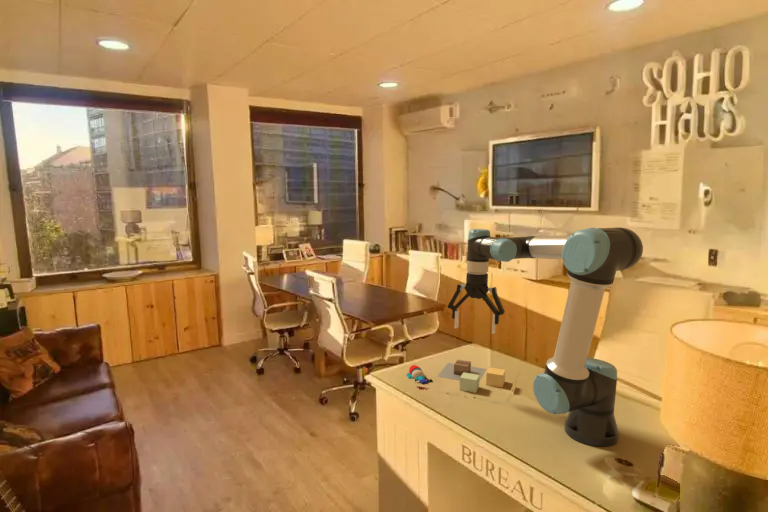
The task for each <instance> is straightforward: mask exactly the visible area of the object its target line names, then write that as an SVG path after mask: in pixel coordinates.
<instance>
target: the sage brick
mask: <svg viewBox="0 0 768 512" xmlns="http://www.w3.org/2000/svg"><path fill="white" fill-rule="evenodd" d="M479 388H480V381H479V375H476V374H470V373H464V372H463V374H462V375H461V377H460V380H459V391H464V392H468V393H474V394H476V393H477V392H478V389H479Z"/></svg>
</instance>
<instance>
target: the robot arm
mask: <svg viewBox="0 0 768 512" xmlns="http://www.w3.org/2000/svg"><path fill="white" fill-rule="evenodd" d="M643 252H644V246H643V241H642V239H641V237H640V236H639V235H638V234H637V233H636V232H635V231H633V230H631V229H629V228H626V227H597V228H596V227H590V228H589V227H587V228H584V229H579V230H577V231H575V232H574V233H572V234H571V235H543V236H542V235H541V236H540V235H538V236H537V235H527V236H507V237H498V236H497V237H496V236H494V237H493V236H491V231H490V229H485V228H470V230H469V231H468V238H467V260H466V271H467V272H466V278H465V279H466V281H465V283H466V284H462V283H458V284H457V286H456V290H455V292H454V294H453V296H452V297H451V299H450V301H449V303H448V304H447V308H448V309H451V310H452V311H451V312H452V314H451V319H452V320H454V329H458V328H459V319H460V317H459V316H460V309H458V308H459V307H460V306H461V305H462V304H463V303H465V301H466V300H467V299H468V298H471V299H478V300H481V299H482V300H483V301H484V302H485V303H486V305H487V306H488V308H489V309H490V310H491V312H492V313H493V315H492V321H491V334H492V335H495V333H496V328H497V325H499V322H500V316H502V315H504V314H505V309H504V306H503V304H502V302H501V299H500V297H499V295H498V290H497V286H494V287H489V285H488V284H489V282H488V281H489V274H488V272H489V265H490V260H493V261H496V262H497V261H498V262H504V263H509V262H510V261H512V260H520V259H542V260H545V259H547V260H563V261H564V262H563V264H564V267H565V268H566V269H567V271H566V275H567V276H568V278H569V279H570V284H569V289H568V295H567V298H566V301H565V306H564V311H563V315H562V319H561V324H560V327H559V332H558V337H557V342H556V345H555V350H554V354H553V356H552V357H549V358H548V359H547V360H546V362H545V367H544V372H541V373H539V374H538V375H536V376H535V377H534V379H533V382H532V389H533V390H532V391H533V394H534V397H535V399H536V401H537V403H538V405H539V406H540V407H541V408H542V409H543V410H544V411H545V412H547V413H549V414H551V415H561V414H562V415H563V414H567V413H568V414H567V416H566V418H565V422H564V432H565V433H566V434H567V435H568V437H570V438H571V439H573V440H574V441H577V442H579V443H582V444H585V445H589V446H593V447H610V446H613V445H615V444H617V443H618V441H619V436H620V435H619V429H618V425H617V421H616V417H615V407H616V406H615V405H616V404H615V403H616V393H617V385H618V384H617V383H618V382H617V381H618V379H619V378H618V370H617V368H616V367H615V365H614V364H612V363H610V362H608V361H605V360H601V359H598V358H593V357H589V353H590V349H591V345H592V342H593V336H594V333H595V330H596V326H597V321H598V318H599V314H600V310H601V306H602V304H603V302H602V301H603V298H604V294H605V292H606V291H605V290H606V288H608V287H610V286H612V285H613V284H614V281H615V277H616V273H617V272H619V271H625V270H628V269H630V268H633V267H634V266H635V265H636V264H637V263H639V261H640V260H641V258H642V256H643ZM463 290H465V291H466V293H465V295H464V296H463V297H462V298H461V299H460V300H458V301H457V303H456V304H455V302H456V300H457V299H458V297H459V295H460V293H461V292H462V291H463ZM488 292H489V293H490V294H491V295H492V296H491V297H492V298H493V300H494V302H495V304H494V303H493V301H492V300H491V299H490V298H489V295H488V294H487V293H488ZM454 304H455V305H454Z"/></svg>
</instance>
